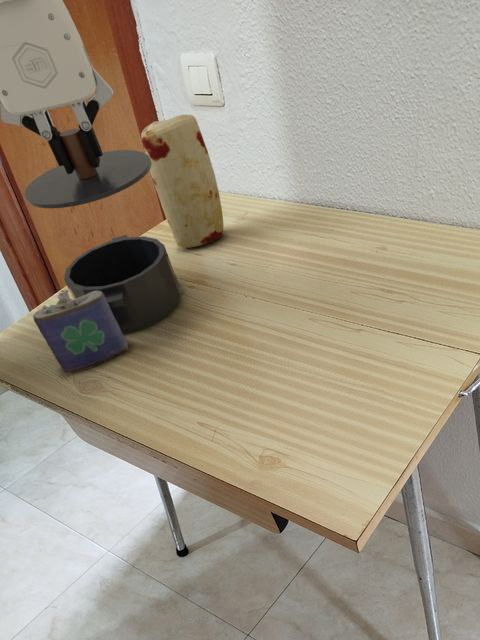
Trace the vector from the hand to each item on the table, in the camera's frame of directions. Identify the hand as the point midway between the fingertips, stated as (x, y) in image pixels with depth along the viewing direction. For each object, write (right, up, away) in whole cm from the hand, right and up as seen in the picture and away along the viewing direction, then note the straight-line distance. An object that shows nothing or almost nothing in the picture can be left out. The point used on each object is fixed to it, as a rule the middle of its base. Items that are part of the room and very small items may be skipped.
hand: (83, 165), depth 71 cm
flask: (-2, -23, +10) cm, 25 cm away
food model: (+8, 0, +31) cm, 32 cm away
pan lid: (0, -1, +1) cm, 2 cm away
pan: (0, -13, +19) cm, 23 cm away
